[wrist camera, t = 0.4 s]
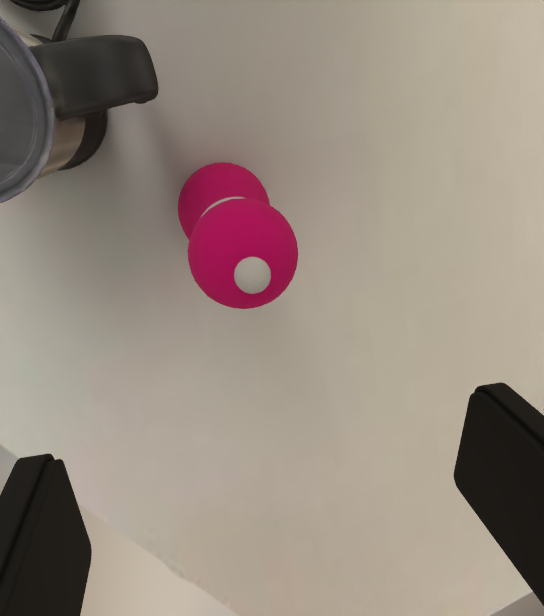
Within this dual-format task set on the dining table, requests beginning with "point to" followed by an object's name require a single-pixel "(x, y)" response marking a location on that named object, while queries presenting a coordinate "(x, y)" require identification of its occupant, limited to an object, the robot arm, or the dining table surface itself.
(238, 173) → the pepper mill
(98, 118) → the milk frother
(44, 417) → the dining table surface
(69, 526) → the robot arm
